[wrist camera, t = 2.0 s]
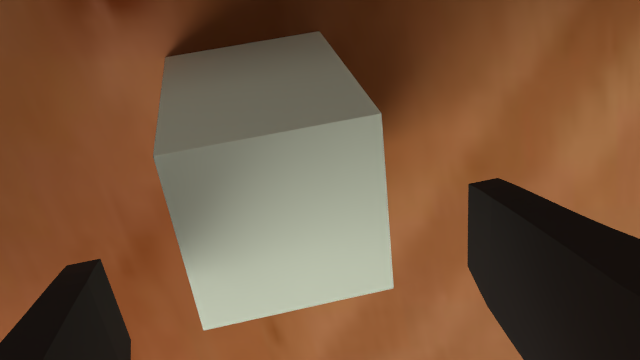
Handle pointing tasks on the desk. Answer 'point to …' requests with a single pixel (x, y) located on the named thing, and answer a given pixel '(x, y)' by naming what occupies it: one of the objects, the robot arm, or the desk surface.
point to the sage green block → (273, 178)
